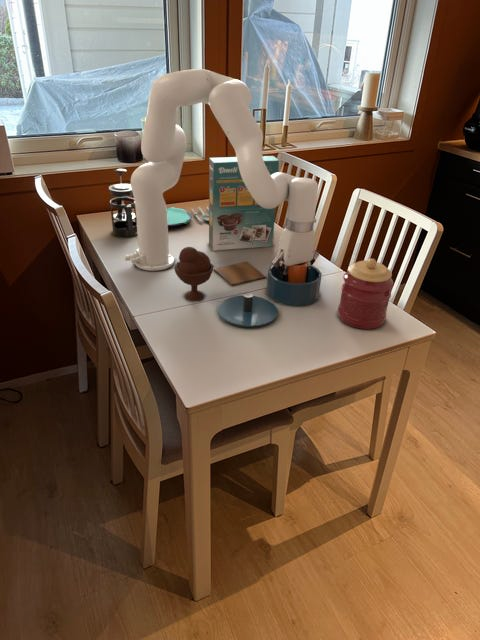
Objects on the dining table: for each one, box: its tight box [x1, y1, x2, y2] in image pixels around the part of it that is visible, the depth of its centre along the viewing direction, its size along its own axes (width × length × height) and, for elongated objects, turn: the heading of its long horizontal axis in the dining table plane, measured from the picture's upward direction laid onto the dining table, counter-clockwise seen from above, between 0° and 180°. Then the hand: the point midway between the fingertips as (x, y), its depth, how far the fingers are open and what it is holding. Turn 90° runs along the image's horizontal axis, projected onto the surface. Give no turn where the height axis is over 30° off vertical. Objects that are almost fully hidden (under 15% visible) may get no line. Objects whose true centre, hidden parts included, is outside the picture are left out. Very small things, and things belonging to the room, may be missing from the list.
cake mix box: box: [208, 155, 280, 252], centre depth 172 cm, size 22×6×30 cm, turn 106°
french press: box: [108, 168, 138, 239], centre depth 179 cm, size 12×9×23 cm
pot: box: [266, 261, 322, 307], centre depth 148 cm, size 15×16×7 cm
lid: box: [217, 292, 278, 328], centre depth 138 cm, size 16×16×6 cm
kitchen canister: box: [337, 258, 394, 330], centre depth 135 cm, size 13×13×18 cm
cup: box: [283, 262, 307, 284], centre depth 147 cm, size 7×7×10 cm
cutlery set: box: [167, 206, 209, 227], centre depth 198 cm, size 20×30×2 cm, turn 110°
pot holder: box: [213, 261, 266, 287], centre depth 159 cm, size 12×12×1 cm
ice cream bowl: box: [173, 246, 215, 302], centre depth 142 cm, size 11×11×15 cm
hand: (293, 281), depth 148 cm, fingers closed on cup, 6 cm apart
